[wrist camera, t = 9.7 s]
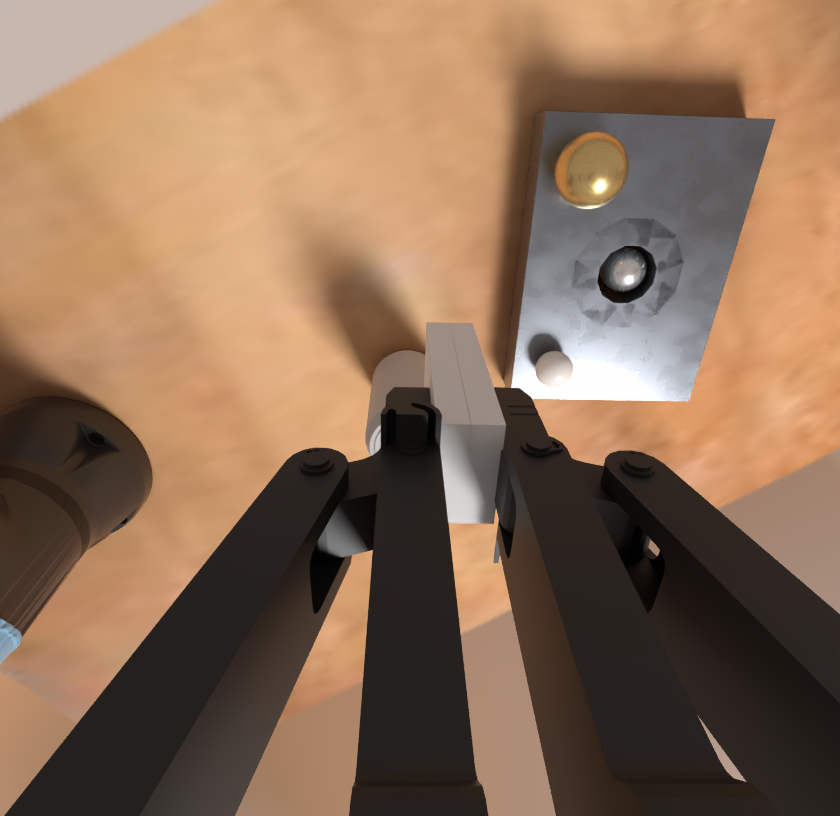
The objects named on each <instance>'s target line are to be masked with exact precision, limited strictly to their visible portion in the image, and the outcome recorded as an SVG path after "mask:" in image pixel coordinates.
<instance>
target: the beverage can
mask: <svg viewBox="0 0 840 816" xmlns="http://www.w3.org/2000/svg"><path fill="white" fill-rule="evenodd" d="M424 373H425V355H424V354H422V353H420V352H417V351H411V350H403V351H398V352H394V353H392V354H390V355H388V356H387V357H385V358H384V359H383V360H382V361H381V362H380V363H379V364H378V365H377V367H376V369H375V371H374V374H373V379H372V387H371V395H370V403H369V411H368V419H367V427H366V437H365V438H366V446H367V449H368V451H369V453H370V455H371V456H372V455H373V454H375V453H376V452H378V450H379V449H380V448H381V412H382V410H383V408H385V404H386V395H387V394H388V393H389V392H390V391H391V390H392V389H393V388H394V387H424Z"/></svg>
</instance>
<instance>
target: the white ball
mask: <svg viewBox="0 0 840 816" xmlns="http://www.w3.org/2000/svg"><path fill="white" fill-rule="evenodd" d="M535 371H536V376H537V378H538V380H539V381H540V382H541V383H542V384H544V385H545V386H548V387H560V386H562V385H564V384H566V383H567V382H568V381H569V379H570V378H571V376H572V373H573V365H572V362H571V360H570V358H569V357H568V356H567V355H565V354H564V353H562V352H559V351H550V352H547V353H545V354H543V355H542V356H541V357H540V358H539V359H538V361H537V363H536V367H535Z"/></svg>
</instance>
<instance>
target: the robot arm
mask: <svg viewBox="0 0 840 816" xmlns="http://www.w3.org/2000/svg"><path fill="white" fill-rule="evenodd" d="M151 487H152V469H151V465H150V461H149V459H148V456H147V454H146V452H145V450H144V448H143V447H142V445H141V444H140V442H139V441H138V440H137V438H136V437H135V436H134V435H133V434H132V433H131V432H130V431H129V430H128V429H127V428H126V427H125V426H124V425H123V424H122V423H120V422H119V421H118V420H116V419H115V418H113V417H112V416H110V415H109V414H107V413H105V412H103V411H102V410H100V409H98V408H96V407H93V406H91V405H88V404H85V403H82V402H79V401H75V400H71V399H66V398H58V397H42V398H34V399H29V400H26V401H23V402H20V403H18V404H16V405H14V406H12V407H11V408H9V409H8V410H6V411H5V412H4V413H2V414H1V415H0V664H1V663H2V662H3V661H4V660H5V659H6V657H7V656H8V655H9V654H10V653H11V652H13V651H14V650H15V649H16V648H17V647H18V646H19V644H20V642H21V640H22V637H23V635H24V634H25V632H26V631H27V630H28V628H29V627H30V626H31V624H32V623H33V622H34V620H35V619H36V618H37V616H38V615H39V614H40V612H41V611H42V610H43V608H44V607H45V605H46V604H47V603H48V601H49V600H50V599H51V597H52V596H53V595H54V593H55V592H56V591H57V589H58V588H59V587H60V585H61V584H62V583H63V581H64V580H65V578H66V577H67V576H68V574H69V573H70V572H71V570H72V569H73V568H74V566H75V565H76V563H77V562H78V561H79V559H80V558H81V557H82V555H83V554H84V553H85V552H86V551H87V550H88V549H90V548H91V547H93V546H94V545H96V544H97V543H99V542H100V541H102V540H103V539H105V538H106V537H107V536H109V535H110V534H111V533H113V532H115V531H117V530H119V529H120V528H122V527H123V526H125V525H126V524H127V523H128V522H129V521H131V520H132V519H133V518H134V516H135V515H136V514H137V513H138V511H139V510H140V508H141V507H142V505H143V504H144V503H145V501H146V500H147V498H148V496H149V494H150V491H151ZM495 509H497V513H498V517H499V522H498V530H497V537H496V545H495V553H494V563H498V561H499V556H500V555H501V560H502V565H503V569H504V574H505V579H506V583H507V588H508V593H509V597H510V602H511V607H512V612H513V616H514V621H515V625H516V630H517V635H518V639H519V644H520V649H521V653H522V658H523V663H524V668H525V672H526V677H527V682H528V686H529V691H530V696H531V700H532V705H533V710H534V714H535V719H536V724H537V729H538V733H539V738H540V743H541V747H542V752H543V757H544V761H545V766H546V770H547V775H548V780H549V785H550V789H551V794H552V799H553V803H554V808H555V813H556V816H840V614H839V613H838V612H836V611H835V610H834V609H833V608H832V607H831V606H829V605H828V604H827V603H826V602H825V601H823V600H822V599H821V598H820V597H819V596H818V595H817V594H815V593H814V592H813V591H812V590H811V589H810V588H808V587H807V586H806V585H805V584H804V583H802V582H801V581H800V580H799V579H798V578H797V577H796V576H794V575H793V574H792V573H791V572H790V571H788V570H787V569H786V568H785V567H784V566H783V565H782V564H780V563H779V562H778V561H777V560H776V559H774V558H773V557H772V556H771V555H770V554H769V553H767V552H766V551H765V550H764V549H763V548H762V547H760V546H759V545H758V544H757V543H756V542H755V541H753V540H752V539H751V538H750V537H749V536H748V535H746V534H745V533H744V532H743V531H742V530H741V529H739V528H738V527H737V526H736V525H735V524H734V523H732V522H731V521H730V520H729V519H728V518H726V517H725V516H724V515H723V514H722V513H721V512H720V511H718V510H717V509H716V508H715V507H714V506H713V505H711V504H710V503H709V502H708V501H707V500H706V499H704V498H703V497H702V496H701V495H700V494H699V493H697V492H696V491H695V490H694V489H693V488H692V487H690V486H689V485H688V484H687V483H686V482H685V481H683V480H682V479H681V478H680V477H679V476H678V475H676V474H675V473H674V472H673V471H672V470H671V469H669V468H668V467H667V466H666V465H665V464H663V463H662V462H660V461H659V460H657V459H656V458H654V457H652V456H649V455H646V454H645V453H642V452H638V451H637V452H636V451H617V452H613V453H610V454H609V455H608V456H607V457H606V459H605V463H604V466H600V465H595V464H590V463H585V462H581V461H577V460H574V459H572V458H571V456H570V454H569V452H568V449H567V448H566V447H565V446H564V444H563V443H562V442H560V441H558V440H556V439H555V438H553V437H550V436H548V434H547V431H546V429H545V427H544V425H543V423H542V420H541V418H540V416H538V412H537V409H536V408H535V405H534V403H533V401H532V398H531V396H529V395H528V394H527V393H526V392H524V391H523V390H522V389H520V388H498V387H493V384H492V381H491V378H490V375H489V372H488V369H487V366H486V363H485V360H484V357H483V354H482V351H481V348H480V345H479V341H478V338H477V335H476V332H475V329H474V326H473V323H429V322H426V348H425V373H424V387H394V388H393V389H392V390H391V391H390V392H389V393H388V394H387V395H386V404H385V408H383V410H382V412H381V448H380V449H379V450H378V452H376V453H375V454H373V455H372V456H370V457H367V458H365V459H362V460H358V461H353V462H348V461H347V459H346V457H345V455H343V454H342V453H340V452H339V451H336V450H333V449H329V448H312V449H311V448H310V449H306V450H303V451H300V452H298V453H295V454H294V455H292V456H291V457H290V458H289V459H288V460H287V461H286V462H285V463H284V464H283V466H282V467H281V468H280V469H279V471H278V472H277V473H276V474H275V476H274V477H273V478H272V480H271V481H270V482H269V483H268V485H267V486H266V487H265V488H264V490H263V491H262V492H261V493H260V495H259V496H258V497H257V498H256V500H255V501H254V502H253V503H252V505H251V506H250V507H249V508H248V510H247V511H246V512H245V514H244V515H243V516H242V517H241V519H240V520H239V521H238V522H237V524H236V525H235V526H234V527H233V529H232V530H231V531H230V532H229V534H228V535H227V536H226V537H225V539H224V540H223V541H222V542H221V544H220V545H219V546H218V547H217V549H216V550H215V551H214V553H213V554H212V555H211V556H210V558H209V559H208V560H207V561H206V563H205V564H204V565H203V566H202V568H201V569H200V570H199V571H198V573H197V574H196V575H195V576H194V578H193V579H192V580H191V581H190V583H189V584H188V585H187V586H186V588H185V589H184V590H183V592H182V593H181V594H180V595H179V597H178V598H177V599H176V600H175V602H174V603H173V604H172V605H171V607H170V608H169V609H168V610H167V612H166V613H165V614H164V615H163V617H162V618H161V619H160V620H159V622H158V623H157V624H156V625H155V627H154V628H153V629H152V631H151V632H150V633H149V634H148V636H147V637H146V638H145V639H144V641H143V642H142V643H141V644H140V646H139V647H138V648H137V649H136V651H135V652H134V653H133V654H132V656H131V657H130V658H129V659H128V661H127V662H126V663H125V664H124V666H123V667H122V668H121V670H120V671H119V672H118V673H117V675H116V676H115V677H114V678H113V680H112V681H111V682H110V683H109V685H108V686H107V687H106V688H105V690H104V691H103V692H102V693H101V695H100V696H99V697H98V698H97V700H96V701H95V702H94V704H93V705H92V706H91V707H90V709H89V710H88V711H87V712H86V714H85V715H84V716H83V717H82V719H81V720H80V721H79V722H78V724H77V725H76V726H75V727H74V729H73V730H72V731H71V732H70V734H69V735H68V736H67V738H66V739H65V740H64V742H63V743H62V744H61V745H60V746H59V748H58V749H57V750H56V751H55V753H54V754H53V755H52V756H51V758H50V759H49V760H48V762H47V763H46V764H45V765H44V766H43V768H42V769H41V770H40V772H39V773H38V774H37V775H36V777H35V778H34V779H33V780H32V782H31V783H30V784H29V785H28V787H27V788H26V789H25V790H24V792H23V793H22V794H21V795H20V797H19V798H18V799H17V800H16V802H15V803H14V804H13V805H12V807H11V808H10V809H9V810H8V812H7V813H6V814H5V816H235V814H236V812H237V810H238V807H239V805H240V803H241V801H242V799H243V797H244V794H245V792H246V790H247V788H248V786H249V784H250V781H251V779H252V777H253V775H254V773H255V771H256V768H257V766H258V764H259V762H260V760H261V757H262V755H263V753H264V751H265V749H266V747H267V744H268V742H269V740H270V738H271V736H272V733H273V731H274V729H275V727H276V725H277V723H278V720H279V718H280V716H281V714H282V712H283V710H284V707H285V705H286V703H287V701H288V699H289V696H290V694H291V692H292V690H293V688H294V686H295V683H296V681H297V679H298V677H299V675H300V673H301V670H302V668H303V666H304V664H305V662H306V659H307V657H308V655H309V653H310V651H311V649H312V646H313V644H314V642H315V640H316V638H317V636H318V633H319V631H320V629H321V627H322V625H323V622H324V620H325V618H326V616H327V614H328V612H329V609H330V607H331V605H332V603H333V601H334V599H335V596H336V594H337V592H338V590H339V588H340V585H341V583H342V581H343V579H344V577H345V575H346V572H347V570H348V568H349V566H350V563H351V558H352V555H354V554H358V553H362V552H366V551H370V550H373V556H372V569H371V582H370V596H369V609H368V622H367V636H366V649H365V662H364V676H363V689H362V703H361V716H360V729H359V743H358V756H357V768H356V777H355V783H354V785H353V788H352V795H351V803H350V813H349V816H488V812H487V805H486V798H485V795H484V791H483V787H482V785H481V784H480V783H479V781H478V780H477V776H476V771H475V763H474V754H473V745H472V738H471V737H472V736H471V727H470V718H469V709H468V700H467V690H466V681H465V672H464V663H463V654H462V645H461V635H460V626H459V617H458V607H457V598H456V589H455V580H454V571H453V561H452V552H451V543H450V534H449V525H448V523H489V524H494V517H495ZM650 540H652V541H653V542H654V543H655V544H656V545H657V547H658V548H659V550H660V552H659V555H658V556H656V555H655V554H654V553H653V552H652V551H651V550H650V549H649V548H648V546H649V543H650ZM698 716H699V718H700V719H701V720H702V721H703V723H704V724H705V726H706V727H707V728H708V730H709V731H710V733H711V734H712V735H713V737H714V738H715V739H716V741H717V742H718V743H719V745H720V746H721V747H722V749H723V750H724V752H725V753H726V754H727V756H728V757H729V758H730V760H731V761H732V762H733V764H734V765H735V767H736V768H737V769H738V771H739V772H740V773H741V775H742V776H743V778H744V779H745V780H746V782H744V781H740V780H737V779H734V778H733V777H732V776H730V775H729V773H727V772H726V770H725V769H724V767H723V765H722V764H721V762H720V760H719V759H718V757H717V754H716V752H715V750H714V748H713V746H712V744H711V742H710V740H709V738H708V736H707V734H706V732H705V730H704V728H703V726H702V724H701V722H700V720H699V718H698Z"/></svg>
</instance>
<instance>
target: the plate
mask: <svg viewBox="0 0 840 816" xmlns="http://www.w3.org/2000/svg"><path fill="white" fill-rule="evenodd" d="M774 122H775V119H752V118H725V117H698V116H672V115H645V114H618V113H591V112H564V111H539V112H535V117H534V126H533V134H532V143H531V151H530V160H529V168H528V177H527V185H526V194H525V202H524V211H523V219H522V228H521V236H520V245H519V253H518V262H517V270H516V279H515V287H514V296H513V304H512V313H511V321H510V330H509V338H508V347H507V355H506V364H505V372H504V384H505V386H506V388H520V389H522V390H523V391H524V392H526V393H527V394H528V395H529V396H531V398H534V399H589V400H645V401H689V399H690V396H691V392H692V389H693V386H694V383H695V379H696V376H697V373H698V370H699V366H700V363H701V360H702V357H703V353H704V350H705V347H706V344H707V340H708V337H709V334H710V331H711V327H712V324H713V321H714V318H715V314H716V311H717V308H718V305H719V301H720V298H721V295H722V291H723V288H724V285H725V282H726V278H727V275H728V272H729V269H730V265H731V262H732V259H733V256H734V252H735V249H736V246H737V243H738V239H739V236H740V233H741V230H742V226H743V223H744V220H745V217H746V213H747V210H748V207H749V204H750V200H751V197H752V194H753V191H754V187H755V184H756V181H757V178H758V174H759V171H760V168H761V165H762V161H763V158H764V155H765V152H766V148H767V145H768V142H769V139H770V135H771V132H772V129H773V126H774ZM592 131H602V132H606V133H609V134H611V135H613V136H615V137H616V138H617V139H618V140H619V141H620V142H621V143H622V144H623V145H624V147H625V149H626V151H627V154H628V158H629V173H628V177H627V180H626V183H625V185H624V187H623V188H622V190H621V191H620V192H619V194H618V195H617V196H616V197H615V198H614V199H613V200H611V201H610V202H609V203H607V204H605V205H603V206H601V207H598V208H594V209H580V208H577V207H574V206H572V205H570V204H568V203H567V202H566V201H565V200H564V199H563V198H562V197H561V196H560V194H559V192H558V190H557V188H556V184H555V179H554V172H555V165H556V162H557V159H558V157H559V155H560V153H561V151H562V150H563V149H564V147H565V146H566V145H567V144H568V143H569V142H570V141H571V140H573V139H574V138H575V137H577V136H579V135H581V134H583V133H586V132H592ZM624 246H636V249H637V251H638V252H640V253H641V254H642V256H643V257H644V259H645V261H646V274H645V277H644V279H643V280H642V282H641V283H640V284H639V285H638V286H637V287H635V288H634V289H632V290H629V291H625V292H618V291H600V289H599V286H598V283H597V280H598V275H599V270H600V266H601V265H602V264H603V262H604V261H605V260H606V258H607V257H608V256H609V255H610V253H612V252H614V251H616V250H618V249H620V248H622V247H624ZM550 351H559V352H562V353H564V354H565V355H567V356H568V357H569V358H570V360H571V362H572V365H573V373H572V376H571V378H570V379H569V381H568V382H567V383H566V384H564V385H562V386H560V387H548V386H545V385H544V384H542V383H541V382H540V381H539V380H538V378H537V376H536V371H535V367H536V363H537V361H538V359H539V358H540V357H541V356H542V355H543V354H545V353H547V352H550Z"/></svg>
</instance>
